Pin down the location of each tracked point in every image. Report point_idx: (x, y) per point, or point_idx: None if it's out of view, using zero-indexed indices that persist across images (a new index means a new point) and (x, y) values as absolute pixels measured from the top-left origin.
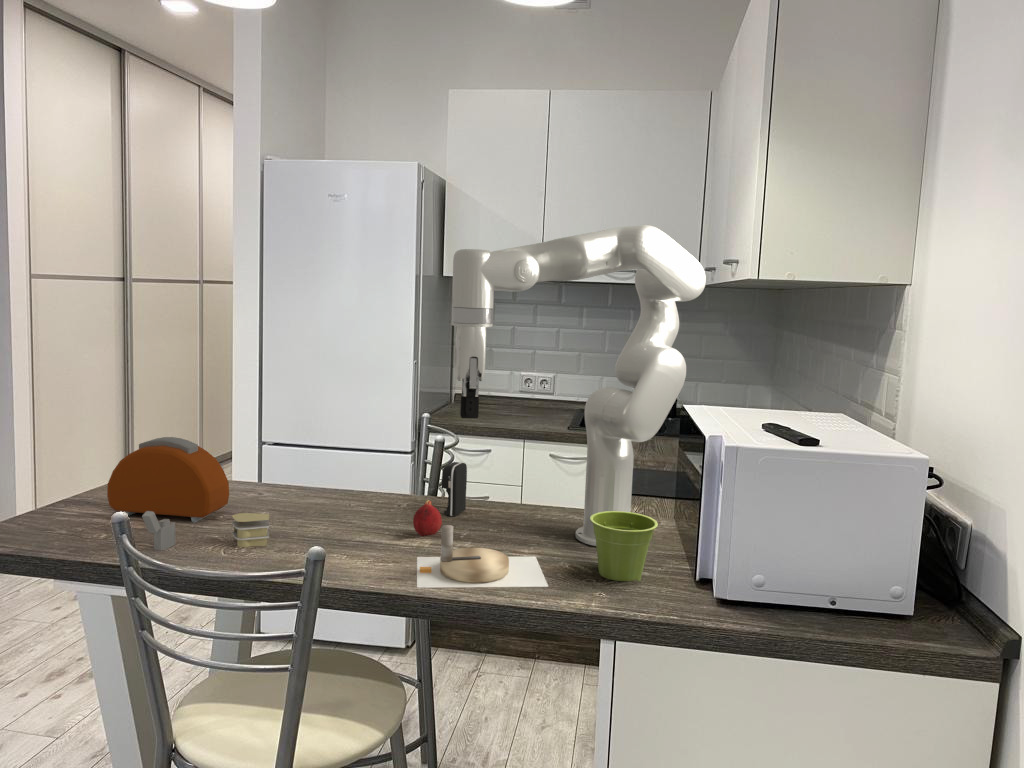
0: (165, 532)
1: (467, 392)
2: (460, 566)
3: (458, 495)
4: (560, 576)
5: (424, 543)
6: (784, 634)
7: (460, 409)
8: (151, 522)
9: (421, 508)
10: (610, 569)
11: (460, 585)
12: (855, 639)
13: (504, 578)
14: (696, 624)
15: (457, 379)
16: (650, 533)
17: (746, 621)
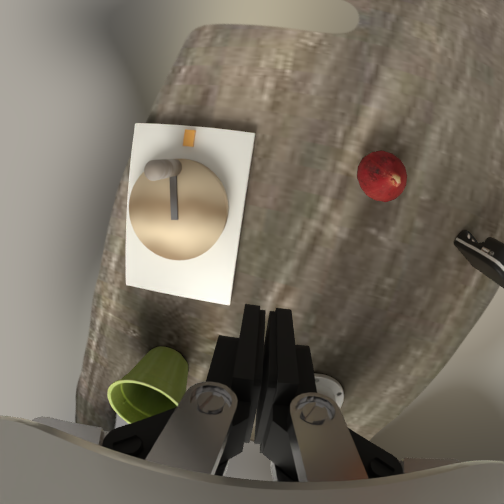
0: None
1: (155, 418)
2: (146, 184)
3: (474, 259)
4: (185, 314)
5: (353, 165)
6: (78, 400)
7: (292, 326)
8: None
9: (388, 164)
10: (142, 358)
11: (133, 179)
12: (80, 423)
13: None
14: (82, 366)
15: (28, 423)
16: (127, 413)
17: (92, 396)
